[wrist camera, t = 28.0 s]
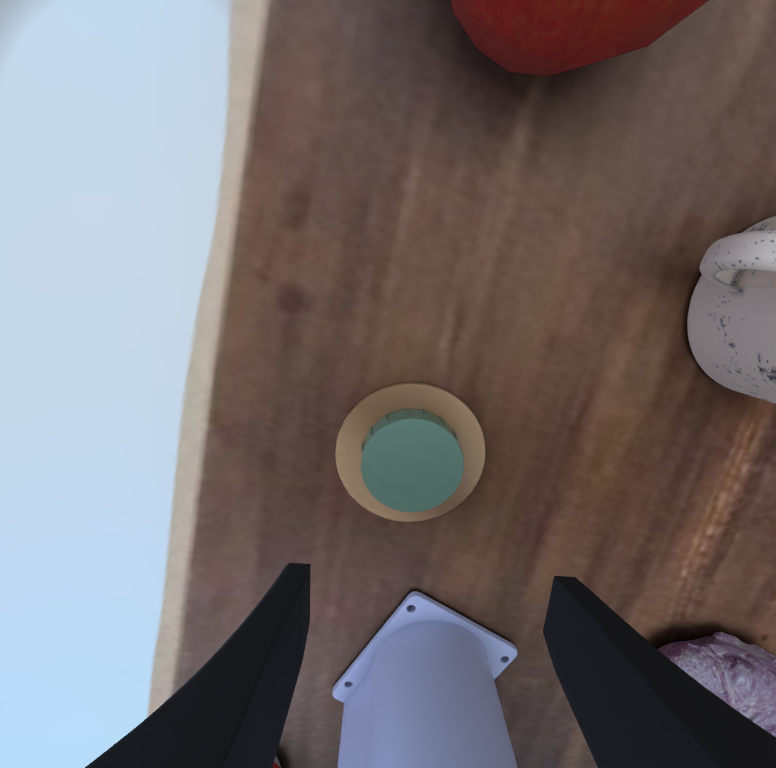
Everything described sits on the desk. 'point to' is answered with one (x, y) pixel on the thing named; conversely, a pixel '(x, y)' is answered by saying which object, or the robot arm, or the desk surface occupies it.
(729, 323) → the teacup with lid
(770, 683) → the fossil
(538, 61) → the apple
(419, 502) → the lid
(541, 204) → the desk surface
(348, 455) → the cork coaster
